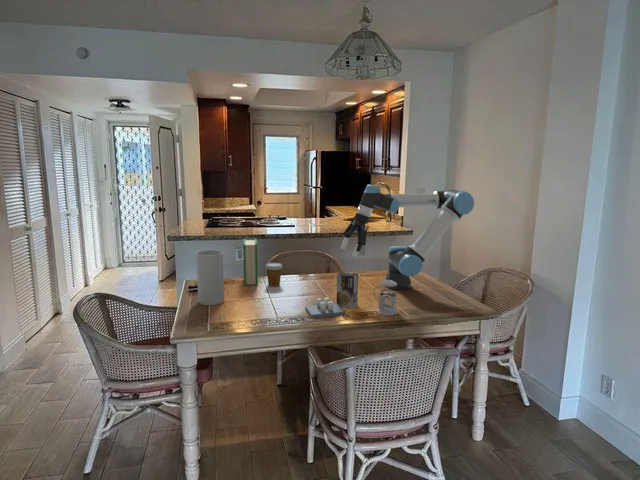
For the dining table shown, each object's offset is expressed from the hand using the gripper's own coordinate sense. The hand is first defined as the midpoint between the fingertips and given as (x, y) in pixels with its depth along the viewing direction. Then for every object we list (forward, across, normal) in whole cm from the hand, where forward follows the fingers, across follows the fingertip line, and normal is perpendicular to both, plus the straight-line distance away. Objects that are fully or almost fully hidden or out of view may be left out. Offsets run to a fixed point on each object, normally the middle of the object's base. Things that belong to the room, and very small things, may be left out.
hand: (348, 252), depth 219 cm
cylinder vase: (+46, -13, -56) cm, 73 cm away
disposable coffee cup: (+35, -30, -20) cm, 50 cm away
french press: (+17, +30, +12) cm, 37 cm away
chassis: (+27, +21, -13) cm, 36 cm away
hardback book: (+39, -41, -30) cm, 64 cm away
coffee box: (+23, +17, 0) cm, 28 cm away
